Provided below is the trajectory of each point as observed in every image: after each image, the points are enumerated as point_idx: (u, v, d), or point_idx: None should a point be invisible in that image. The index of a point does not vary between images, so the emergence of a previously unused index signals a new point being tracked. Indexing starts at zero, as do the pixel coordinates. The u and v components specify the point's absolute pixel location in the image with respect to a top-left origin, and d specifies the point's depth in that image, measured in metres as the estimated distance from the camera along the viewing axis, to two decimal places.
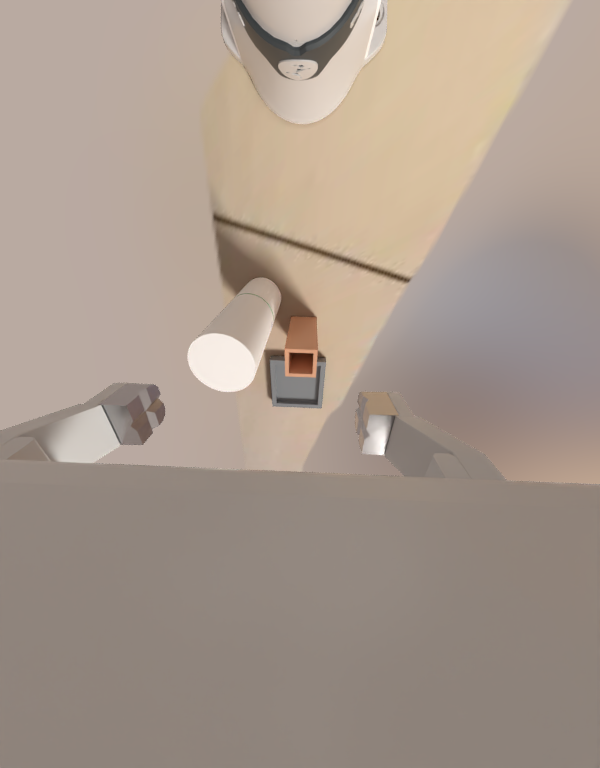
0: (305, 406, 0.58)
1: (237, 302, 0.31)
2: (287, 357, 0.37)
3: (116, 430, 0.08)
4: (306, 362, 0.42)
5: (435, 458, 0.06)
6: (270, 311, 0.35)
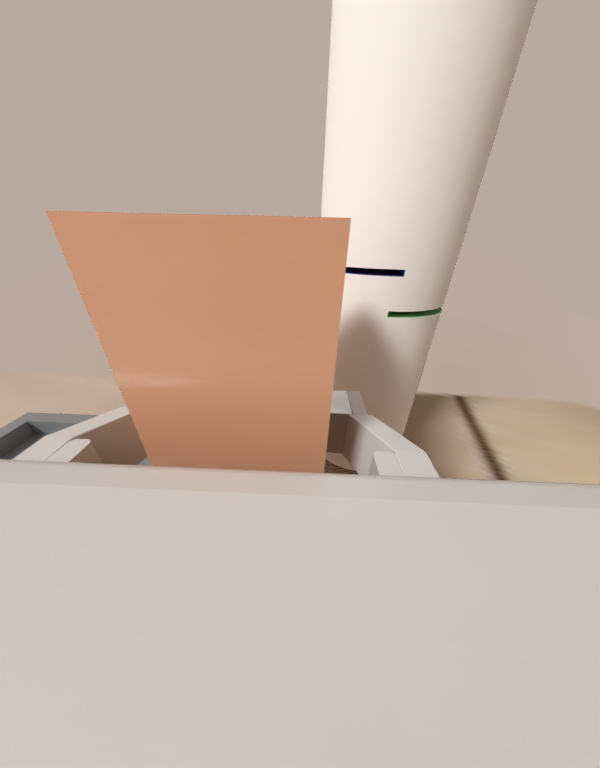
0: None
1: None
2: None
3: None
4: None
5: (374, 456, 0.06)
6: (425, 295, 0.11)
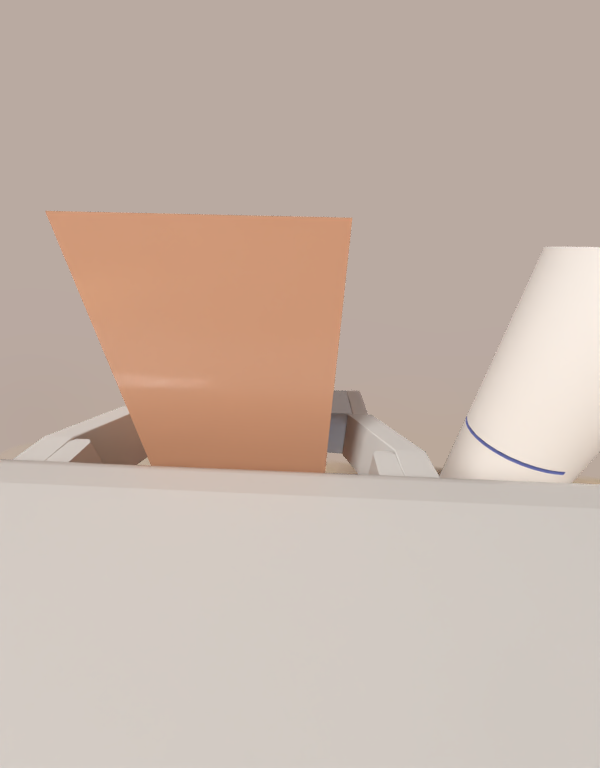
0: None
1: None
2: None
3: None
4: None
5: (374, 456, 0.06)
6: (572, 480, 0.16)
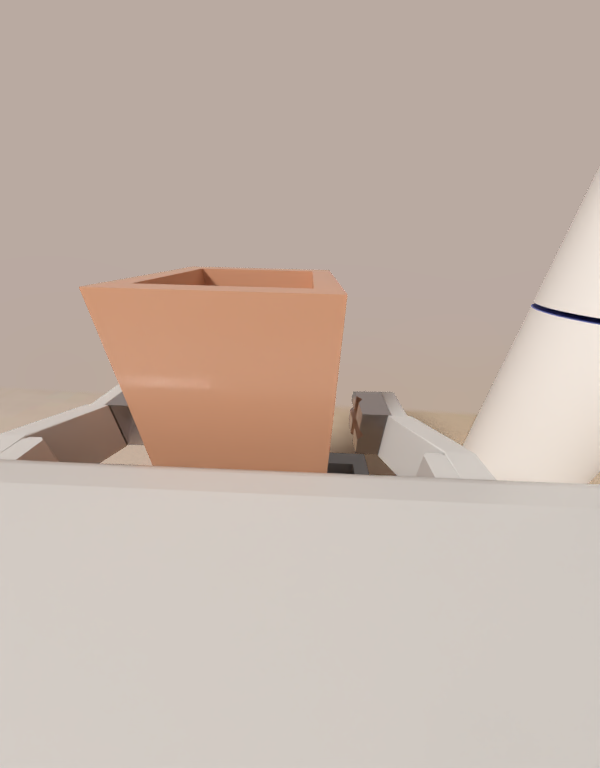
0: None
1: None
2: (287, 269, 0.08)
3: (123, 430, 0.08)
4: None
5: (425, 458, 0.06)
6: None
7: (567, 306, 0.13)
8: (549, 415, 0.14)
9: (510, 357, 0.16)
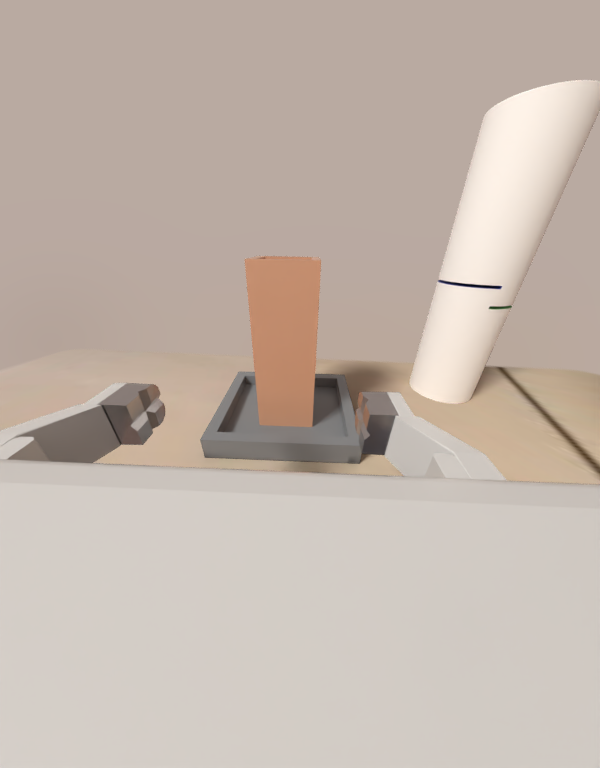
0: (221, 410, 0.23)
1: None
2: None
3: (116, 430, 0.08)
4: None
5: (435, 458, 0.06)
6: (509, 298, 0.22)
7: (447, 277, 0.24)
8: (444, 340, 0.25)
9: (429, 311, 0.27)
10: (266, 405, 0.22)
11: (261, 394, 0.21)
